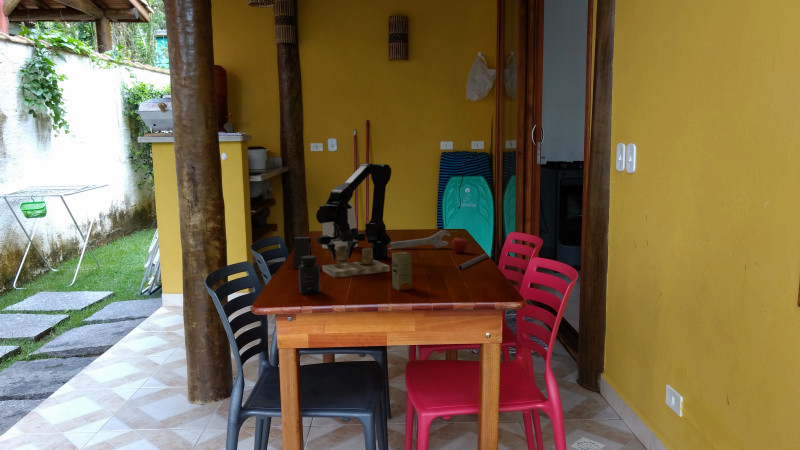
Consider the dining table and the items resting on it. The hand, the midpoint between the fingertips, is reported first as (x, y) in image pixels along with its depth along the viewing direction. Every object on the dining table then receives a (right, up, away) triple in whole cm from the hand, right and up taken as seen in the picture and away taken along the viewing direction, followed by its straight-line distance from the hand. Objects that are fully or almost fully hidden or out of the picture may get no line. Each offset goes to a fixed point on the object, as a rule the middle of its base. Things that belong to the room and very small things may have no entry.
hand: (341, 259), depth 248 cm
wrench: (+31, +3, +38) cm, 49 cm away
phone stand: (-15, -3, 0) cm, 15 cm away
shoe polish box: (+24, -8, -39) cm, 46 cm away
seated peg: (+11, -3, -8) cm, 14 cm away
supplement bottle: (-7, -9, -43) cm, 44 cm away
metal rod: (+53, -2, +2) cm, 53 cm away
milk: (-5, +3, +44) cm, 45 cm away
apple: (+49, +1, +25) cm, 55 cm away
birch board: (+6, -4, -10) cm, 12 cm away
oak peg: (0, -3, 0) cm, 2 cm away
